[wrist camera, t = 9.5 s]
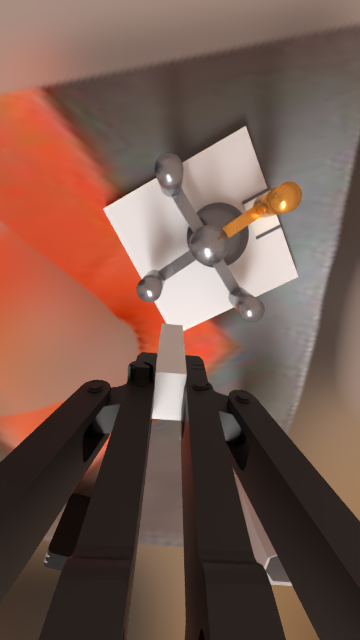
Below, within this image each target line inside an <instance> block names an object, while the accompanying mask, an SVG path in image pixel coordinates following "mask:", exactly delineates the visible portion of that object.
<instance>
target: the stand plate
mask: <svg viewBox="0 0 360 640" xmlns="http://www.w3.org/2000/svg"><path fill="white" fill-rule="evenodd" d="M182 190H183V191H184V193H185V195H186V196H187V198H188V200H189V202H190V203H191V205H192V207H193V208H194V210H195V212H196V213H197V212H198V211H199V210H200V209H201V208H203V207H204V206H206V205H208V204H212V203H217V202H222V203H227V204H230V205H232V206H234V207H236V208H237V209H238V210H239V211H240V212H241V213H242V214H243V213H244V212H246V211H247V210H249V209H250V208H252V207H253V204H254V201H255V200H256V198H257V197H259V196H260V195H262V194H264V193H266V192H268V189H267V186H266V183H265V180H264V177H263V174H262V171H261V168H260V166H259V163H258V160H257V157H256V154H255V151H254V148H253V146H252V143H251V140H250V137H249V134H248V131H247V128H246V126H245V127H243V128H241V129H240V130H238V131H236V132H234V133H233V134H231V135H229V136H227V137H226V138H224V139H222V140H221V141H219V142H217V143H215V144H214V145H212V146H210V147H208V148H207V149H205V150H203V151H202V152H200V153H198V154H196V155H195V156H193V157H191V158H190V159H188V160H186V161H184V162H183V185H182ZM103 210H104V212H105V213H106V215H107V217H108V219H109V221H110V222H111V224H112V226H113V228H114V230H115V231H116V233H117V235H118V237H119V239H120V240H121V242H122V244H123V246H124V248H125V250H126V251H127V253H128V255H129V257H130V259H131V260H132V262H133V264H134V266H135V268H136V269H137V271H138V273H139V275H140V277H141V278H143V277H144V276H145V275H146V274H147V273H148V272H149V271H151V270H158V271H159V270H160V269H162V268H163V267H165V266H166V265H168V264H169V263H171V262H172V261H174V260H175V259H177V258H178V257H180V256H181V255H183V254H184V253H185V252H187V251H188V250H189V247H188V244H187V229H188V226H189V225H188V223H187V222H186V220H185V219H184V217H183V215H182V214H181V212H180V210H179V209H178V207H177V205H176V204H175V202H174V200H173V199H172V197H168V196H166V195H164V193H163V192H162V190H161V188H160V185H159V182H158V180H157V178H155V179H153V180H152V181H150V182H148V183H146V184H145V185H143V186H141V187H140V188H138V189H136V190H134V191H133V192H131V193H129V194H127V195H126V196H124V197H122V198H121V199H119V200H117V201H115V202H114V203H112V204H110V205H108V206H107V207H105V208H103ZM248 228H249V239H248V243H247V246H246V249H245V251H244V252H243V254H242V255H241V256H240V258H239V259H237V260H236V261H235V262H234V263H232V264H230V265H228V268H229V270H230V271H231V273H232V275H233V276H234V278H235V280H236V282H237V283H238V285H239V287H242V288H244V289H245V290H246V291H248V292H249V293H250V294H252V295H253V296H254V297H256V296H259V295H261V294H263V293H265V292H267V291H269V290H271V289H273V288H276V287H278V286H280V285H282V284H284V283H286V282H288V281H290V280H292V279H295V278H297V277H298V274H297V272H296V269H295V266H294V263H293V260H292V257H291V254H290V252H289V249H288V246H287V243H286V240H285V237H284V234H283V231H282V229H281V226H280V223H279V220H278V217H277V215H274V216H270V217H266V218H258V219H257V220H255V221H254V222H252V223H251V224H249V225H248ZM228 296H229V291H228V290H227V288H226V286H225V285H224V283H223V281H222V280H221V278H220V276H219V275H218V273H217V271H216V270H215V268H212V267H208V266H205V265H203V264H201V263H200V262H198V261H197V260H195V261H194V262H192V263H191V264H189V265H188V266H186V267H185V268H183V269H182V270H180V271H179V272H177V273H176V274H174V275H173V276H171V277H170V278H168V279H167V280H165V283H164V286H163V289H162V292H161V295H160V297H159V298H158V299H157V300H156V301H154V302H155V304H156V305H157V307H158V309H159V311H160V313H161V314H162V316H163V318H164V320H165V322H166V324H174V325H183V331H184V330H187V329H189V328H191V327H193V326H195V325H197V324H199V323H201V322H203V321H206V320H208V319H210V318H212V317H214V316H216V315H218V314H220V313H223V312H225V311H227V310H229V309H231V308H233V306H232V304H231V303H230V302H229V299H228Z"/></svg>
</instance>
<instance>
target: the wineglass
mask: <svg viewBox="0 0 360 640" xmlns="http://www.w3.org/2000/svg"><path fill="white" fill-rule="evenodd" d="M234 476H235V480H236V484H237V488H238V493H239V497H240V501H241V505H242V509H243V513H244V517H245V521H246V525H247V529H248V533H249V537H250V542H251V546H252V550H253V553H254V557H255V559H256V561H257V562H258V563H260V564H262V565H263V567H264V568H265V570H266V572H267V575H268V578H269V581H270V584H275V585H286V586H292V584H291V582H290V580H289V578H288V576H287V574H286V572H285V570H284V568H283V566H282V564H281V562H280V560H279V558H278V556H277V554H276V552H275V550H274V548H273V546H272V544H271V542H270V540H269V538H268V536H267V534H266V532H265V530H264V528H263V526H262V524H261V522H260V520H259V518H258V516H257V514H256V512H255V510H254V508H253V506H252V504H251V502H250V501H249V499H248V497H247V495H246V493H245V491H244V489H243V487H242V485H241V483H240V481H239V479H238V477H237V475H236V473H235V474H234Z"/></svg>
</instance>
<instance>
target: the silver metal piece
mask: <svg viewBox="0 0 360 640" xmlns="http://www.w3.org/2000/svg"><path fill="white" fill-rule="evenodd" d="M155 174H156V177H157V180H158V182H159V185H160V188H161V190H162V192H163V193H164V195H166V196H168V197H172V199H173V200H174V202H175V204H176V205H177V207H178V209H179V210H180V212H181V214H182V215H183V217H184V219H185V220H186V222H187V223H188V225H189V226H188V229H187V244H188V247H189V250H188V251H187V252H185V253H184V254H183V255H181V256H180V257H178V258H177V259H175V260H174V261H172V262H171V263H169V264H168V265H166V266H165V267H163V268H162V269H160V270H159V271H158V270H151V271H149V272H148V273H147V274H146V275H145V276H144V277H143V278H142V280H141V281H140V282H139V283H138V285H137V294H138V296H139V297H140V299H142V300H143V301H145V302H154V301H156V300H157V299H158V298H159V297H160V295H161V292H162V289H163V286H164V283H165V280H167V279H168V278H170V277H171V276H173V275H174V274H176V273H177V272H179V271H180V270H182V269H183V268H185V267H186V266H188V265H189V264H191V263H192V262H194V261H195V260H197V261H198V262H200V263H201V264H203V265H205V266H208V267H212V268H215V270H216V271H217V273H218V275H219V276H220V278H221V280H222V281H223V283H224V285H225V286H226V288H227V290H228V291H229V296H228V299H229V302H230V303H231V304H232V306H233V307H234V308H235V309H236V311H237V312H238V313H239V314H240V316H241V317H242V318H243V319H244V320H245V321H247V322H256V321H258V320H259V319H260V318H261V317H262V316H263V314H264V305H263V303H262V302H261V301H259V300H258V299H257V298H255V297H254V296H253V295H252V294H250V293H249V292H248V291H246V290H245V289H244V288H242V287H239V285H238V283H237V282H236V280H235V278H234V276H233V275H232V273H231V271H230V270H229V268H228V265H230V264H232V263H234V262H235V261H236V260H237V259H239V258H240V256H241V255H242V254H243V252H244V251H245V249H246V246H247V243H248V239H249V228H248V225H249V224H251V223H252V222H254V221H255V220H257V219H258V218H266V217H270V216H274V215H279V214H283V213H287V212H291V211H293V210H294V209H296V208H297V206H298V205H299V203H300V201H301V198H302V192H301V189H300V187H299V186H298V185H297V184H296V183H294V182H285V183H283V184H281V185H279V186H277V187H275V188H273V189H272V190H270V191H268V192H266V193H264V194H262V195H260V196H259V197H257V198H256V200H255V201H254V204H253V207H252V208H250V209H249V210H247V211H246V212H244V213H243V214H242V213H241V212H240V211H239V210H238V209H237V208H236V207H234V206H232V205H230V204H227V203H222V202H217V203H212V204H208V205H206V206H204V207H203V208H201V209H200V210H199V211H198V212H197V213H196V212H195V210H194V208H193V207H192V205H191V203H190V202H189V200H188V198H187V196H186V195H185V193H184V191H183V190H182V185H183V163H182V161H181V159H180V158H179V157H178V156H177V155H175V154H173V153H165V154H163V155H161V156H160V157H159V158H158V159H157V161H156V164H155Z"/></svg>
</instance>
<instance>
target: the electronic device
mask: <svg viewBox="0 0 360 640" xmlns="http://www.w3.org/2000/svg"><path fill="white" fill-rule="evenodd" d="M90 499H91V498H90V497H86V496H82V495H79V494H72V495H71V496H70V498H69V500H68V503H67V505H66V507H65V510H64V512H63V514H62V517H61V519H60V521H59V524H58V526H57V529H56V531H55V533H54V536H53V538H52V540H51V543H50V545H49V548H48V551H47V553H46V556H45V559H44V565H45V566H46V567H49V568H53V569H57V570H61V571H62V569H63V567H64V564H65V563H66V561H67V559H68V558H69V557H70V556H72V554H73V552H74V550H75V547H76V544H77V541H78V538H79V535H80V532H81V528H82V525H83V522H84V519H85V516H86V512H87V509H88V506H89V503H90Z"/></svg>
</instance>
